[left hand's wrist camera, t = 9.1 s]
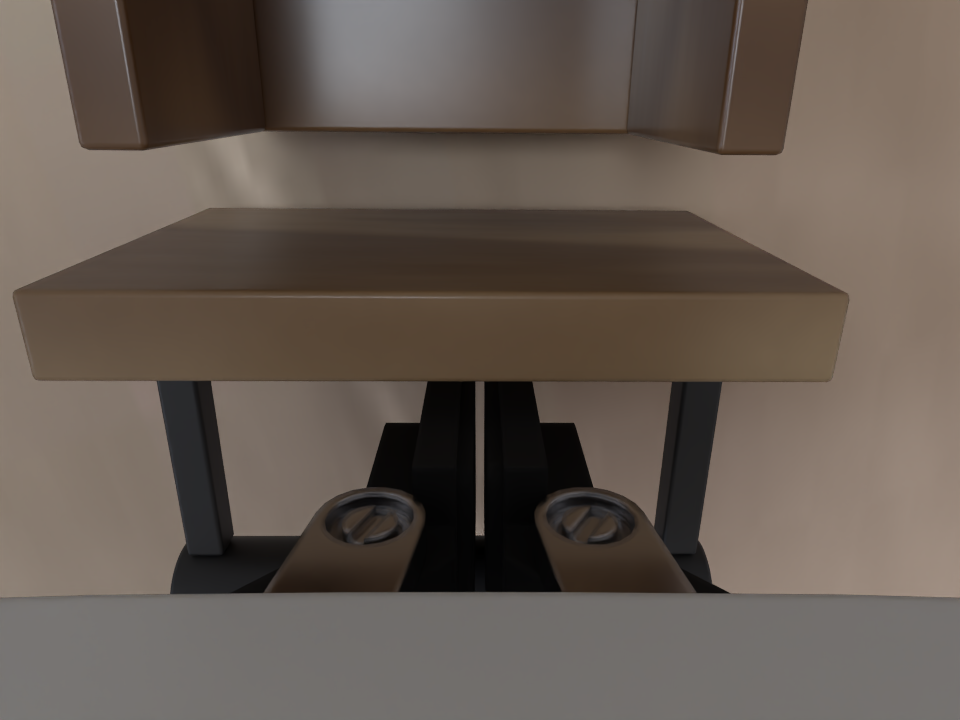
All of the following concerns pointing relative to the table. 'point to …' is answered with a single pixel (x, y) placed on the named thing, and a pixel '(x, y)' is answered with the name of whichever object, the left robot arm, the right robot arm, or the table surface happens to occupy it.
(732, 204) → the table surface
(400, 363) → the drawer
